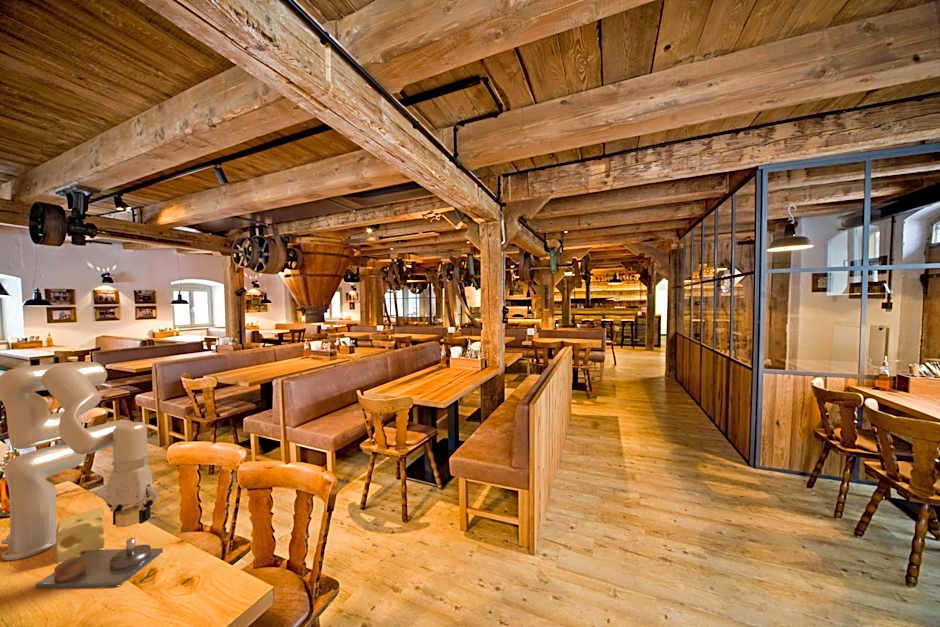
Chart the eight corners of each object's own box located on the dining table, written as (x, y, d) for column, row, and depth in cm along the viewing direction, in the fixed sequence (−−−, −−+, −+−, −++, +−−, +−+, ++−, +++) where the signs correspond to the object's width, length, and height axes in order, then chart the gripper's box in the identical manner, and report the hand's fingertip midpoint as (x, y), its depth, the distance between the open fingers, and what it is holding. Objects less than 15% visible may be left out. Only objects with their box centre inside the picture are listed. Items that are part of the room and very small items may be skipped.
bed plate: (35, 588, 97) (35, 584, 97) (89, 553, 111) (89, 550, 111) (119, 586, 97) (119, 582, 97) (162, 551, 111) (162, 548, 111)
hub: (100, 574, 102) (100, 550, 102) (129, 553, 111) (129, 530, 111) (132, 573, 102) (132, 549, 102) (158, 552, 111) (158, 530, 111)
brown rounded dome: (47, 586, 97) (47, 571, 97) (71, 570, 103) (71, 556, 103) (69, 585, 98) (69, 570, 98) (92, 569, 104) (92, 555, 104)
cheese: (104, 547, 113) (104, 517, 113) (53, 565, 106) (53, 532, 106) (104, 534, 121) (104, 505, 121) (56, 549, 113) (56, 519, 113)
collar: (108, 527, 103) (108, 515, 103) (131, 514, 110) (130, 503, 110) (132, 526, 103) (132, 514, 103) (153, 513, 110) (153, 502, 110)
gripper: (88, 470, 102) (90, 530, 102) (148, 468, 103) (150, 528, 103) (114, 460, 110) (115, 515, 110) (170, 457, 110) (171, 513, 110)
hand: (132, 521), depth 106 cm, fingers closed on collar, 7 cm apart
